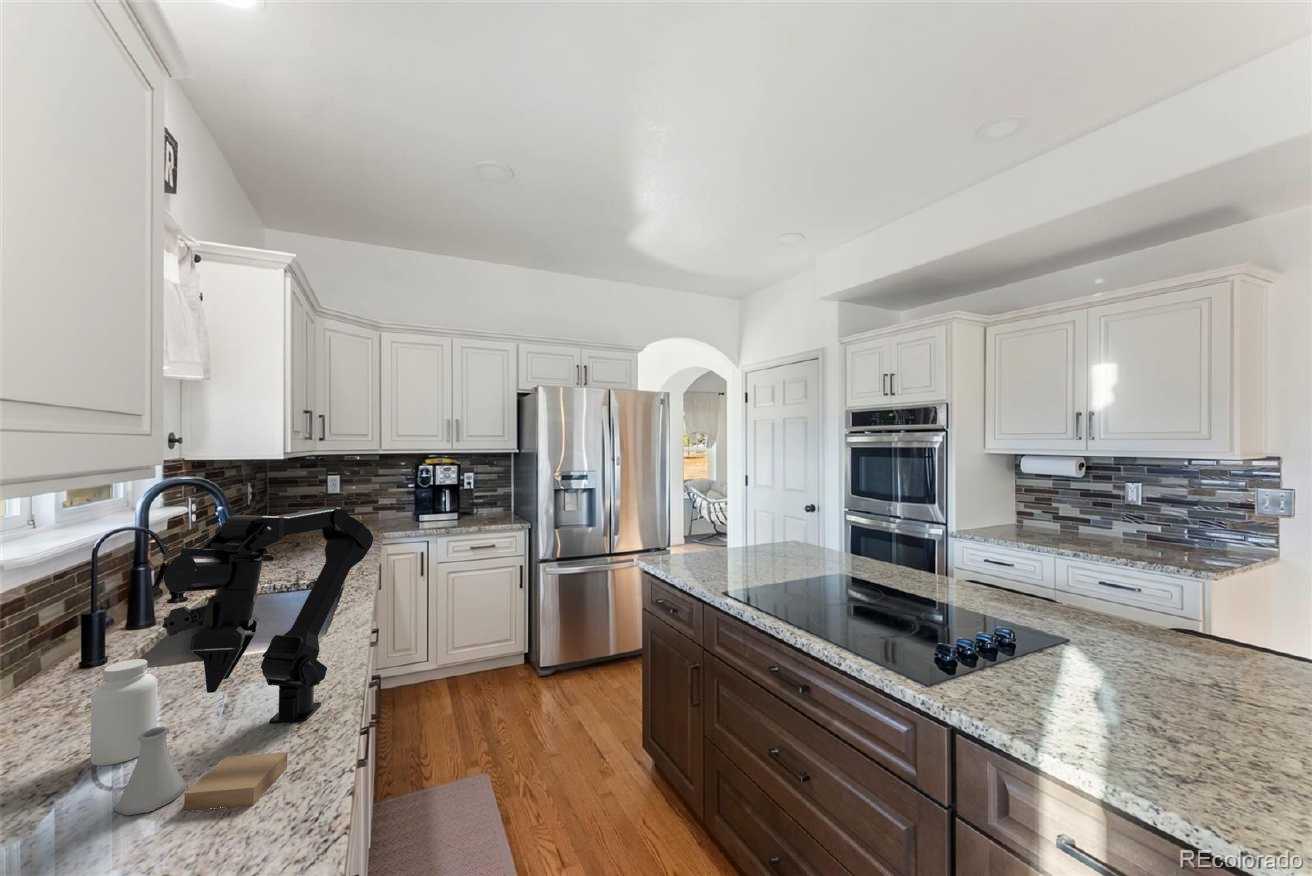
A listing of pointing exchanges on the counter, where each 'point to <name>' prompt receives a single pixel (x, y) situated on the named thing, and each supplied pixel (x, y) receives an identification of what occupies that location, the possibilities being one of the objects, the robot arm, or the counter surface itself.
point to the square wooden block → (236, 782)
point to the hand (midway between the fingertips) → (217, 685)
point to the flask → (151, 776)
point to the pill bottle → (122, 712)
